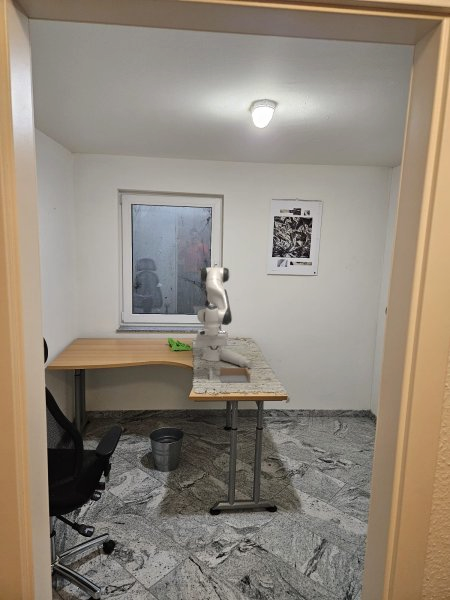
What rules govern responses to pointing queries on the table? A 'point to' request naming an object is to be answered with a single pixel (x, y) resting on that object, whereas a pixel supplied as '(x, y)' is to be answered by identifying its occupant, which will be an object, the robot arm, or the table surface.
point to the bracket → (211, 376)
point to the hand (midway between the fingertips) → (211, 352)
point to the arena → (234, 375)
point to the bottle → (235, 358)
